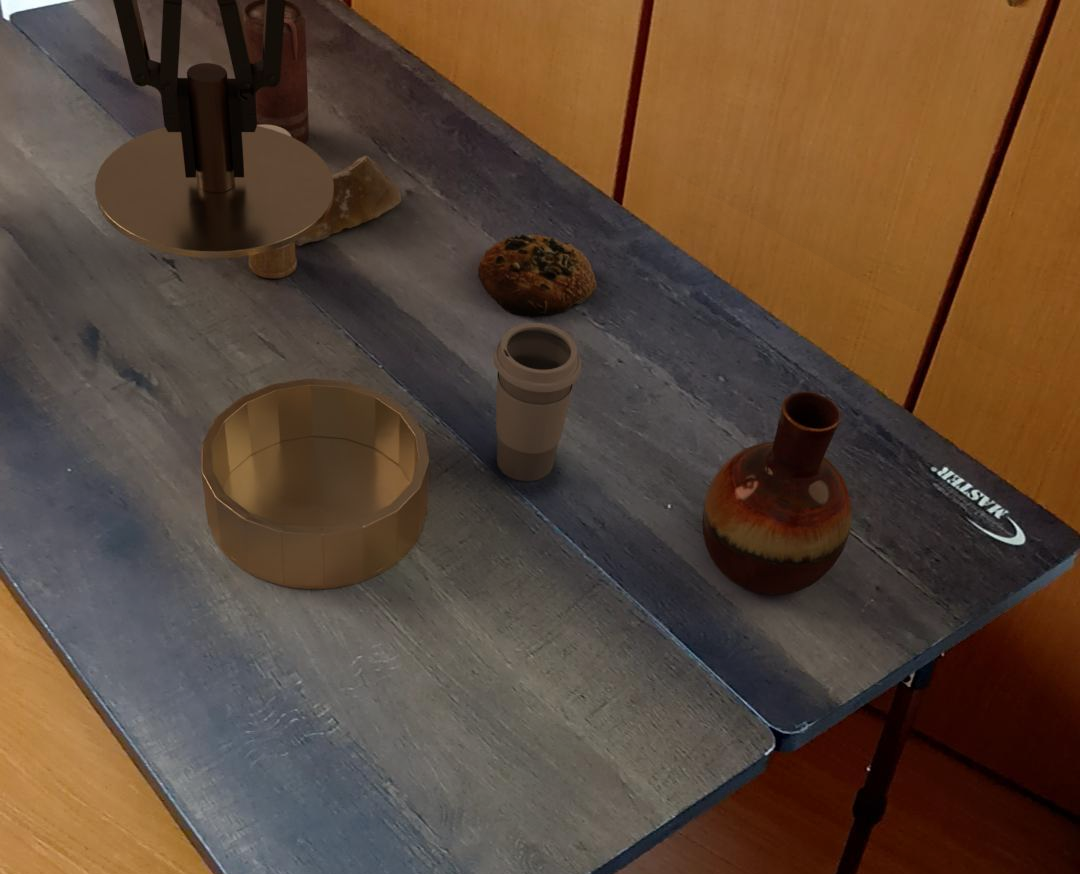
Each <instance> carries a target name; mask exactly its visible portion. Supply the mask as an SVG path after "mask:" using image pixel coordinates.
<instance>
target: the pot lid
mask: <svg viewBox="0 0 1080 874" xmlns="http://www.w3.org/2000/svg"><path fill="white" fill-rule="evenodd" d="M186 78H187V81H188V90H189V101H190V111H191V121H192V132H193V142H194V152H195V163H196V178H186V175H185V166H184V156H183V146H182V137H181V132H168V131H167V130H166V128H165V126H164V127H160V128H157V129H154V130H151V131H148V132H144V133H142V134H140V135H138V136H136V137H134V138H132V139H130V140H128V141H127V142H125V143H123V144H122V145H120V146H119V147H117V148H116V149H115V150H114V151H112V152H111V153H110V154H109V155H108V156H107V157H106V158H105V159H104V161H103V163H102V164H101V166H100V167H99V169H98V172H97V174H96V177H95V181H94V195H95V199H96V203H97V207H98V208H99V210H100V212H101V214H102V216H103V217H104V219H106V221H107V222H108V223H109V225H111V226H112V227H113V228H114V229H115V230H116V231H118V232H119V233H121V234H122V235H123V236H124V237H126V238H128V239H130V240H131V241H134V242H136V243H138V244H139V245H142V246H144V247H147V248H149V249H153V250H156V251H158V252H162V253H167V254H169V255H175V256H181V257H187V258H195V259H233V258H242V257H249V256H250V255H255V254H260V253H264V252H268V251H271V250H275V249H278V248H281V247H283V246H286V245H288V244H290V243H293V242H295V241H296V240H298V239H300V238H302V237H304V236H305V235H307V234H308V233H309V232H311V231H312V230H314V229H315V228H316V227H317V226H318V225H319V224H320V223H321V222H322V221H323V219H324V218H325V217H326V215H327V214H328V212H329V210H330V208H331V206H332V202H333V198H334V182H333V178H332V174H333V173H332V172H331V170H330V168H329V166H328V164H326V162H325V160H324V159H323V157H321V156H320V155H319V154H318V153H317V152H316V151H315V150H313V148H312V147H311V148H310V146H308V145H307V144H303V143H302V142H300V141H298V140H297V139H295V138H292V137H290V136H288V135H286V134H283V133H280V132H277V131H275V130H272V129H268V128H264V127H260V126H257V128H256V130H255V132H242V143H243V158H244V177H234V170H233V157H232V143H231V130H230V117H229V103H228V71H227V69H225V67H224V66H222V65H220V64H216V63H212V62H200V63H196V64H194V65H192V66H190V67H189V68H188V69H187V71H186Z"/></svg>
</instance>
